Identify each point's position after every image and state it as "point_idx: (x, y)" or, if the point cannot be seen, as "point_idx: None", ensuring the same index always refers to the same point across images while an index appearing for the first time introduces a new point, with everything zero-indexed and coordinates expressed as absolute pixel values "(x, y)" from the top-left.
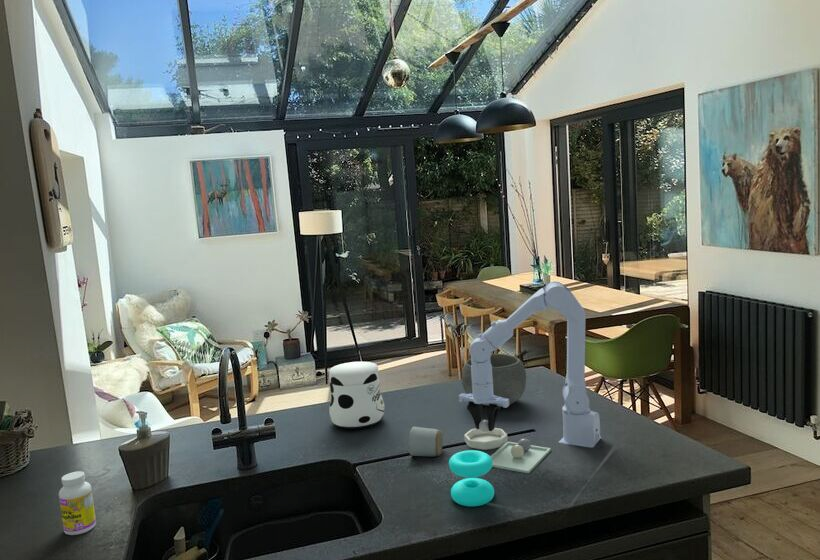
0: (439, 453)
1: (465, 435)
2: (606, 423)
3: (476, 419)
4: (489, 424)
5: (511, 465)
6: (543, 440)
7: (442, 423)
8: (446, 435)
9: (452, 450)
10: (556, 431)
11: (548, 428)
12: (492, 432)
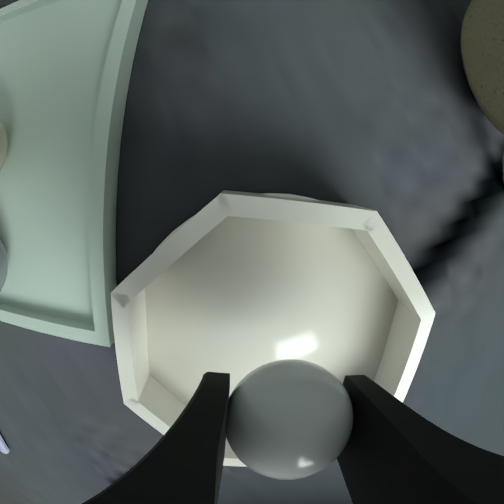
0: (463, 39)
1: (425, 301)
2: (7, 491)
3: (397, 434)
4: (206, 412)
5: (10, 48)
6: (28, 410)
7: (491, 424)
8: (490, 343)
9: (438, 157)
10: (51, 473)
11: (87, 493)
12: None
